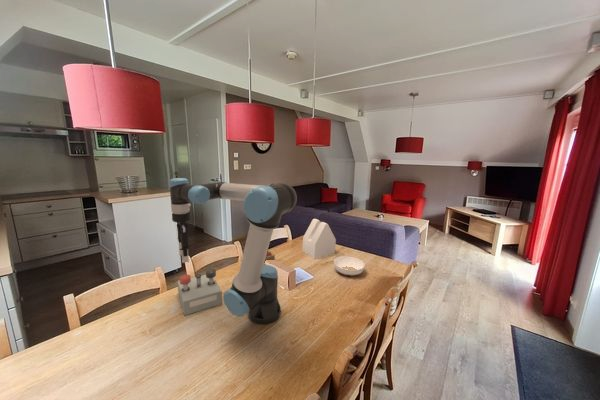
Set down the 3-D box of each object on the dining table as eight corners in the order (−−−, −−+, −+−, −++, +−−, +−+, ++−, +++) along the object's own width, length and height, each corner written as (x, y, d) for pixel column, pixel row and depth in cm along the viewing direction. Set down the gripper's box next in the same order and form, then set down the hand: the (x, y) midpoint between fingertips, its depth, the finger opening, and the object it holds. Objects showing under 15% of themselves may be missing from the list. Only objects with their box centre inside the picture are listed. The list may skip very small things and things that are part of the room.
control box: (222, 304, 119) (221, 291, 118) (184, 315, 110) (183, 301, 108) (211, 284, 135) (211, 273, 134) (178, 293, 126) (177, 281, 125)
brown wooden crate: (274, 262, 166) (274, 255, 165) (251, 267, 156) (251, 260, 155) (268, 256, 174) (268, 250, 173) (245, 261, 164) (245, 254, 163)
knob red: (192, 294, 118) (191, 278, 116) (181, 297, 115) (180, 280, 113) (190, 290, 122) (189, 273, 120) (180, 292, 119) (178, 276, 117)
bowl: (367, 270, 159) (368, 261, 158) (357, 282, 143) (358, 273, 142) (340, 262, 169) (340, 253, 168) (328, 273, 153) (328, 264, 152)
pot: (202, 286, 121) (201, 275, 120) (196, 287, 119) (196, 277, 118) (201, 284, 123) (200, 273, 122) (195, 285, 122) (195, 274, 120)
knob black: (217, 288, 124) (216, 272, 123) (207, 290, 122) (207, 274, 120) (215, 283, 128) (214, 268, 126) (205, 286, 126) (204, 270, 124)
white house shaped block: (314, 259, 172) (316, 225, 167) (302, 251, 185) (303, 220, 180) (334, 254, 183) (337, 222, 178) (322, 247, 195) (324, 217, 190)
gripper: (194, 216, 104) (196, 265, 108) (186, 206, 121) (188, 249, 125) (174, 218, 100) (178, 269, 104) (169, 208, 117) (172, 251, 121)
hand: (183, 258), depth 115 cm, fingers open, 8 cm apart
